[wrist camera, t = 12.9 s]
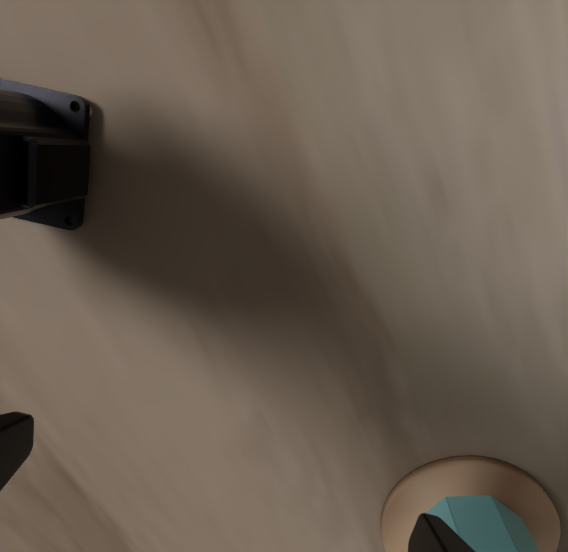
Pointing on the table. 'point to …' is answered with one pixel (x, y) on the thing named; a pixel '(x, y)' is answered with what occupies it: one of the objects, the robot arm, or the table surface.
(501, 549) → the teal lidded canister
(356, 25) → the table surface
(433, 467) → the tan round disc
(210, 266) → the table surface
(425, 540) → the robot arm
